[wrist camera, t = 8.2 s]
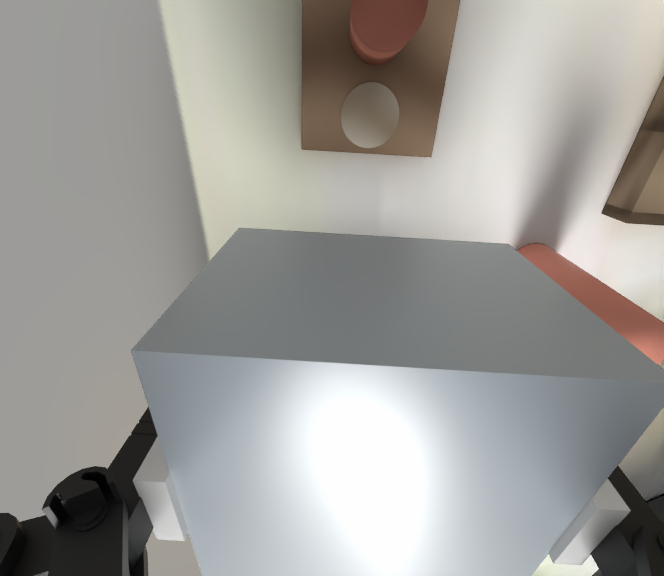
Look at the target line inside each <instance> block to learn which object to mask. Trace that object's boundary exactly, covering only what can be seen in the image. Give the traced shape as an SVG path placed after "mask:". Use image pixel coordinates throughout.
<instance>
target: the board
mask: <svg viewBox="0 0 664 576" xmlns="http://www.w3.org/2000/svg"><path fill="white" fill-rule="evenodd" d="M459 5H460V0H302V135H301V149H303V150H319V151H336V152H352V153H369V154H385V155H402V156H418V157H431V156H432V150H433V145H434V139H435V134H436V129H437V123H438V118H439V112H440V107H441V102H442V96H443V91H444V86H445V80H446V75H447V69H448V64H449V59H450V53H451V48H452V42H453V37H454V32H455V26H456V21H457V16H458V10H459Z"/></svg>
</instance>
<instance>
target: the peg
mask: <svg viewBox="0 0 664 576" xmlns="http://www.w3.org/2000/svg"><path fill="white" fill-rule="evenodd" d="M517 251H518V252H519V253H520V254H521V255H523V256H524V257H525V258H526V259H528V260H529V261H530V262H531V263H532V264H534V265H535V266H536V267H537V268H539V269H540V270H541V271H542V272H544V273H545V274H546V275H547V276H549V277H550V278H551V279H552V280H553V281H555V282H556V283H557V284H558V285H560V286H561V287H562V288H563V289H565V290H566V291H567V292H568V293H570V294H571V295H572V296H573V297H574V298H576V299H577V300H578V301H579V302H581V303H582V304H583V305H584V306H586V307H587V308H588V309H589V310H591V311H592V312H593V313H594V314H595V315H597V316H598V317H599V318H600V319H602V320H603V321H604V322H605V323H607V324H608V325H609V326H610V327H612V328H613V329H614V330H615V331H616V332H618V333H619V334H620V335H621V336H623V337H624V338H625V339H626V340H628V341H629V342H630V343H631V344H633V345H634V346H635V347H636V348H637V349H639V350H640V351H641V352H642V353H644V354H645V355H646V356H647V357H649V358H650V359H651V360H652V361H654V362H655V363H656V364H657V365H658V364H659V363H661V362H662V361H663V360H664V323H663V322H662V321H660V320H659V319H657V318H656V317H654V316H653V315H651V314H650V313H648V312H647V311H645V310H644V309H642V308H641V307H639V306H638V305H636V304H634V303H633V302H631V301H630V300H628V299H627V298H625V297H624V296H622V295H621V294H619V293H618V292H616V291H615V290H613V289H612V288H610V287H608V286H607V285H605V284H604V283H602V282H601V281H599V280H598V279H596V278H595V277H593V276H592V275H590V274H589V273H587V272H586V271H584V270H583V269H581V268H579V267H578V266H576V265H575V264H573V263H572V262H570V261H569V260H567V259H566V258H564V257H563V256H561V255H560V254H558V253H557V252H555V251H553V250H552V249H550V248H549V247H547V246H546V245H544V244H539V243H533V244H528V245H526V246H523V247H522V248H520V249H518V250H517Z"/></svg>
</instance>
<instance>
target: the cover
mask: <svg viewBox="0 0 664 576" xmlns="http://www.w3.org/2000/svg"><path fill="white" fill-rule="evenodd" d="M131 353H132V356H133V359H134V362H135V365H136V368H137V372H138V375H139V378H140V381H141V384H142V388H143V391H144V394H145V397H146V400H147V403H148V407H149V410H150V413H151V416H152V419H153V422H154V425H155V429H156V432H157V435H158V438H159V441H160V444H161V448H162V451H163V454H164V457H165V460H166V463H167V467H168V470H169V472H170V474H171V477H172V481H173V484H174V487H175V490H176V493H177V496H178V500H179V503H180V506H181V509H182V512H183V515H184V519H185V522H186V525H187V528H188V533H189V536H190V539H191V542H192V546H193V548H194V552H195V555H196V558H197V561H198V564H199V568H200V571H201V574H202V576H531V575H532V574H533V573H534V572H535V570H536V569H537V568H538V566H539V565H540V564H541V563H542V561H543V560H544V559H545V558H546V556H547V555H548V554H549V552H550V551H551V549H552V548H553V547H554V545H555V544H556V543H557V542H558V540H559V539H560V538H561V536H562V535H563V534H564V533H565V531H566V530H567V529H568V528H569V526H570V525H571V524H572V522H573V521H574V520H575V519H576V517H577V516H578V515H579V513H580V512H581V511H582V510H583V508H584V507H585V506H586V504H587V503H588V502H589V501H590V499H591V498H592V497H593V496H594V495H595V494H596V492H597V491H598V490H599V489H600V487H601V486H602V485H603V483H604V482H605V481H606V480H607V478H608V477H609V476H610V475H611V473H612V472H613V471H614V469H615V468H616V467H617V466H618V464H619V463H620V462H621V460H622V459H623V458H624V457H625V455H626V454H627V453H628V452H629V450H630V449H631V448H632V446H633V445H634V444H635V443H636V441H637V440H638V439H639V437H640V436H641V435H642V434H643V432H644V431H645V430H646V429H647V427H648V426H649V425H650V423H651V422H652V421H653V420H654V418H655V417H656V416H657V414H658V413H659V412H660V411H661V409H662V408H663V407H664V370H663V369H662V368H661V367H660V366H658V365H657V364H656V363H655V362H654V361H652V360H651V359H650V358H649V357H647V356H646V355H645V354H644V353H642V352H641V351H640V350H639V349H637V348H636V347H635V346H634V345H633V344H631V343H630V342H629V341H628V340H626V339H625V338H624V337H623V336H621V335H620V334H619V333H618V332H616V331H615V330H614V329H613V328H612V327H610V326H609V325H608V324H607V323H605V322H604V321H603V320H602V319H600V318H599V317H598V316H597V315H595V314H594V313H593V312H592V311H591V310H589V309H588V308H587V307H586V306H584V305H583V304H582V303H581V302H579V301H578V300H577V299H576V298H574V297H573V296H572V295H571V294H570V293H568V292H567V291H566V290H565V289H563V288H562V287H561V286H560V285H558V284H557V283H556V282H555V281H553V280H552V279H551V278H550V277H549V276H547V275H546V274H545V273H544V272H542V271H541V270H540V269H539V268H537V267H536V266H535V265H534V264H532V263H531V262H530V261H529V260H528V259H526V258H525V257H524V256H523V255H521V254H520V253H519V252H518V251H516V250H515V249H514V248H513V247H511V246H510V245H509V244H499V243H483V242H466V241H449V240H433V239H416V238H400V237H383V236H367V235H350V234H334V233H317V232H300V231H284V230H267V229H251V228H239V229H238V230H237V231H236V232H235V233H234V234H233V235H232V237H231V238H230V239H229V240H228V241H227V242H226V243H225V244H224V246H223V247H222V248H221V249H220V250H219V251H218V252H217V254H216V255H215V256H214V257H213V258H212V259H211V260H210V261H209V263H208V264H207V265H206V266H205V267H204V268H203V269H202V271H201V272H200V273H199V274H198V275H197V276H196V278H195V279H194V280H193V281H192V282H191V283H190V284H189V285H188V286H187V287H186V289H185V290H184V291H183V292H182V293H181V294H180V296H179V297H178V298H177V299H176V300H175V301H174V302H173V303H172V304H171V306H170V307H169V308H168V309H167V310H166V311H165V312H164V314H163V315H162V316H161V317H160V318H159V319H158V320H157V321H156V323H155V324H154V325H153V326H152V327H151V328H150V330H148V332H147V333H146V334H145V335H144V336H143V337H142V338H141V340H140V341H139V342H138V343H137V344H136V345H135V346H134V347H133V349H132V350H131Z"/></svg>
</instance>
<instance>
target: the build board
mask: <svg viewBox="0 0 664 576" xmlns="http://www.w3.org/2000/svg"><path fill="white" fill-rule="evenodd" d="M602 214H604V215H607V216H609V217H612V218H614V219H617V220H620V221H622V222H625V223H632V224H649V225H664V78H663V80H662V82H661V84H660V87H659V89H658V91H657V93H656V95H655V98H654V100H653V102H652V104H651V106H650V109H649V111H648V113H647V115H646V117H645V119H644V122H643V124H642V126H641V128H640V130H639V133H638V135H637V137H636V139H635V141H634V144H633V146H632V148H631V150H630V152H629V155H628V157H627V159H626V161H625V163H624V166H623V168H622V170H621V172H620V174H619V177H618V179H617V181H616V183H615V185H614V187H613V190H612V192H611V194H610V196H609V198H608V201H607V203H606V205H605V207H604V209H603V212H602Z"/></svg>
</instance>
